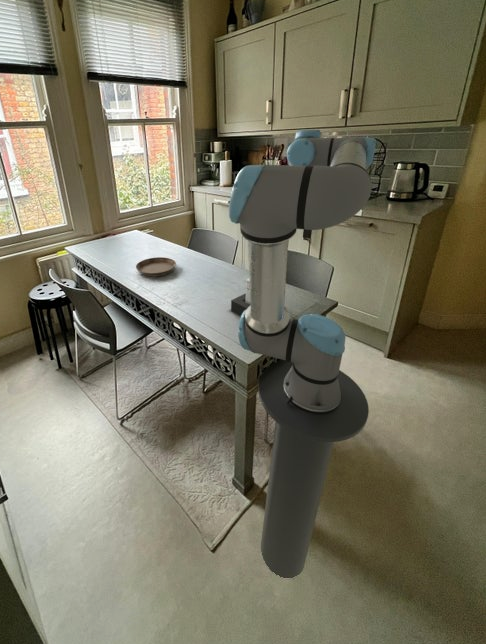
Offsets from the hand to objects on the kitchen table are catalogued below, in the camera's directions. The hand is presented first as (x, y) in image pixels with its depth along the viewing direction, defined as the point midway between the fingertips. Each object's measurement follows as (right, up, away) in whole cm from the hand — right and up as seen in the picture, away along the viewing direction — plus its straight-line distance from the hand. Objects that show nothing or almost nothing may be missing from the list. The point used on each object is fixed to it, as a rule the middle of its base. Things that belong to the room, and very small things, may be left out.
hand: (295, 242), depth 113 cm
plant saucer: (-55, -10, +51) cm, 76 cm away
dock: (-12, -26, +12) cm, 31 cm away
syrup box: (-12, -27, +12) cm, 32 cm away
